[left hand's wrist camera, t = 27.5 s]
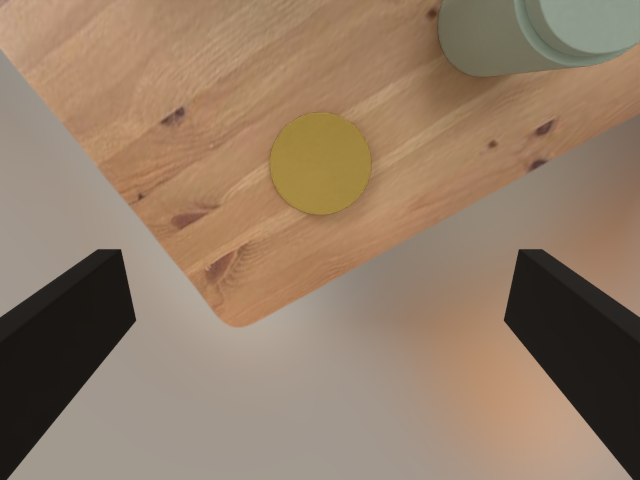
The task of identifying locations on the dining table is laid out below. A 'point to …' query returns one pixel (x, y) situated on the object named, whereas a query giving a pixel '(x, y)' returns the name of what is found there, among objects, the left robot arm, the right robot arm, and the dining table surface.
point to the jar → (535, 34)
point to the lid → (320, 163)
